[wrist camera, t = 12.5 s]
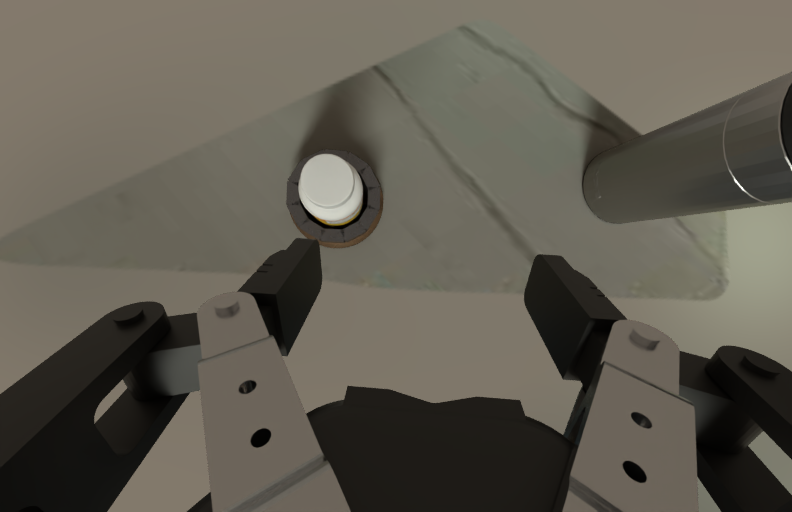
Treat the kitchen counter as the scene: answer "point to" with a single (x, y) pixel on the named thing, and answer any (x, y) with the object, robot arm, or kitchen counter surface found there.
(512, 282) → the kitchen counter surface
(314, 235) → the collar mount
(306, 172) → the supplement bottle
